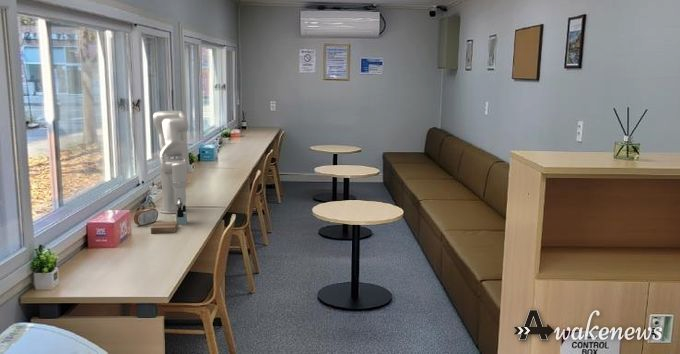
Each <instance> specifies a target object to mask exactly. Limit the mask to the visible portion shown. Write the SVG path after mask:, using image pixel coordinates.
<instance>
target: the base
mask: <svg viewBox="0 0 680 354" xmlns="http://www.w3.org/2000/svg"><path fill="white" fill-rule="evenodd" d="M178 229H179V225H178V221H155V222H153V223H152V226H151V228H150V234H154V235H156V234H175V233H176V232H177V230H178Z"/></svg>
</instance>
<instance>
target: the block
mask: <svg viewBox="0 0 680 354" xmlns="http://www.w3.org/2000/svg"><path fill="white" fill-rule="evenodd" d="M183 215H184V217H177V213H175V218H176V221H178V226H180V225H182V226H183V225H187V223H188V213H187V211H186V212H183Z"/></svg>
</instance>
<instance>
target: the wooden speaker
mask: <svg viewBox="0 0 680 354" xmlns="http://www.w3.org/2000/svg"><path fill="white" fill-rule="evenodd" d="M158 218H159V212H158V210H157V209H156V208H154V207H148V208H144V209H141V210H140V209H139V210H138V211H136V212H135V214H134V215H133V221H134V224H135V225H137V226H141V227H142V226H143V227H144V226H147V225H150V224H154V223H155V222H157V220H158Z"/></svg>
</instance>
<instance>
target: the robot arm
mask: <svg viewBox="0 0 680 354" xmlns="http://www.w3.org/2000/svg"><path fill="white" fill-rule="evenodd" d="M152 121H153V125H154V127H155V130H156V131H157V135H158V144H159V145H158V146H159V154H158V163H159V164H158V169H159V174H160V181H161V195H162V208H160V210H159V211H160V213H162V214H165V215H166V214H168V215H169V214H177V217H184V215H183V212H187V207H186V202H187V197H186V196H187V195H186V194H187V192H186V188H188V175H187V174H188V173H189V172H190V170H191V169H190V168H191V167H190V166H191V165H190V157H189V149H188V144H187V142H186V141H185V140H181V139H180V133H185V132H187V131H188V129H189V123H188V122H189V121H188V118H187V117H186V115H185V113H184V112H183V111H182V110H160V111H156V112H154V113H153V114H152ZM171 157H174V158H171ZM175 157H179V158H175ZM165 158H168V159H165Z"/></svg>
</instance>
